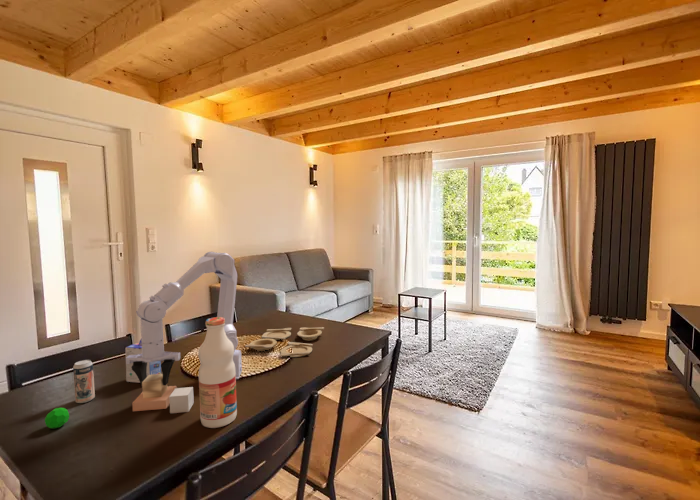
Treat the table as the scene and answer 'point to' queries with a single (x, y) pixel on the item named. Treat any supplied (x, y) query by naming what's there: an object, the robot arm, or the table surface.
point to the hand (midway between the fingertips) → (155, 384)
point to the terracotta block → (153, 401)
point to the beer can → (83, 381)
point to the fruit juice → (217, 376)
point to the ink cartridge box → (151, 366)
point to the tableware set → (298, 348)
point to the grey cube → (181, 400)
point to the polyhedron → (57, 418)
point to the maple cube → (153, 386)
